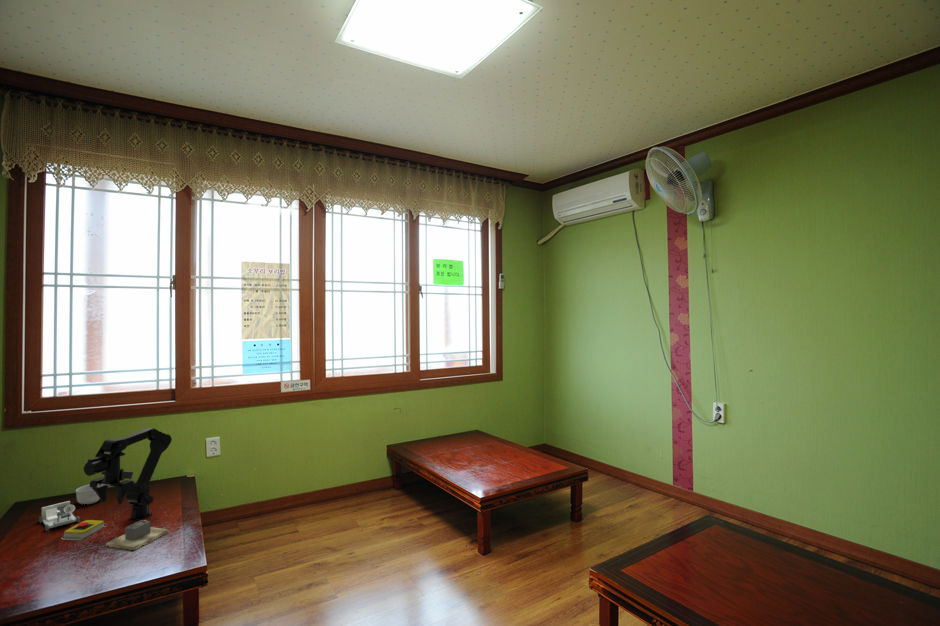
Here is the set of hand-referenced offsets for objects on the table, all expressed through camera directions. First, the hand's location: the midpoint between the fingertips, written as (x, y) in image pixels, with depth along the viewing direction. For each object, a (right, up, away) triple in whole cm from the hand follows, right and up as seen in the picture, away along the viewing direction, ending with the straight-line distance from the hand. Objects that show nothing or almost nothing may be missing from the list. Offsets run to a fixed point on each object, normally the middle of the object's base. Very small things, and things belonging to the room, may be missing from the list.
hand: (112, 503), depth 208 cm
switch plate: (+17, -12, -8) cm, 23 cm away
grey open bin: (+17, -11, -8) cm, 22 cm away
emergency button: (-11, -13, -2) cm, 17 cm away
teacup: (-34, -12, +31) cm, 47 cm away
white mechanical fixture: (-29, -12, +6) cm, 32 cm away
